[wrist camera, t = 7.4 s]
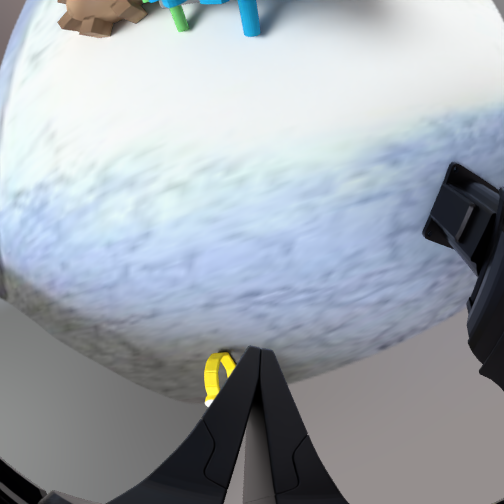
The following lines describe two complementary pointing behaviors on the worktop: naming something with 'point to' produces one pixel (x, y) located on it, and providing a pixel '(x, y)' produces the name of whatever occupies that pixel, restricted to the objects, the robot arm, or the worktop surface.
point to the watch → (216, 373)
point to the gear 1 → (99, 15)
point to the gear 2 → (245, 3)
